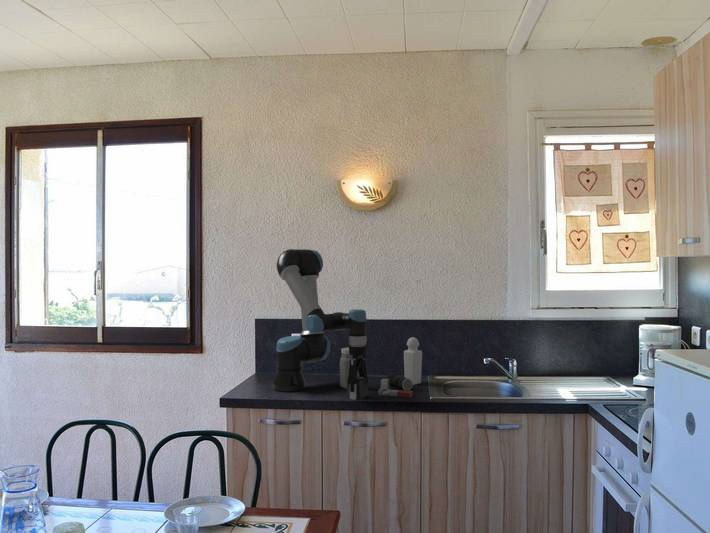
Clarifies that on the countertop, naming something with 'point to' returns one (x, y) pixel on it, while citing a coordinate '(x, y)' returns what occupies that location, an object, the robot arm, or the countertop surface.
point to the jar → (345, 367)
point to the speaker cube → (359, 387)
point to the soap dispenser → (413, 361)
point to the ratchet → (389, 392)
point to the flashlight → (400, 382)
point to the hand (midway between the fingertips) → (357, 396)
